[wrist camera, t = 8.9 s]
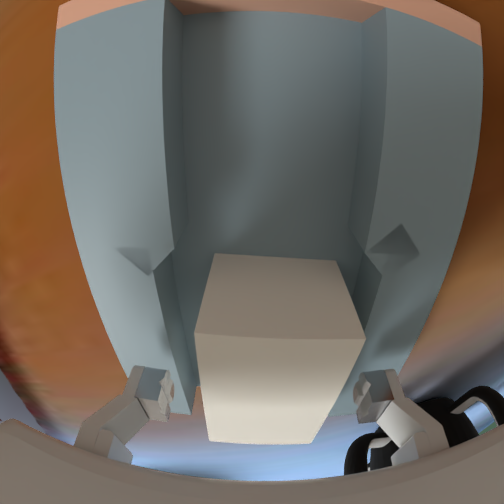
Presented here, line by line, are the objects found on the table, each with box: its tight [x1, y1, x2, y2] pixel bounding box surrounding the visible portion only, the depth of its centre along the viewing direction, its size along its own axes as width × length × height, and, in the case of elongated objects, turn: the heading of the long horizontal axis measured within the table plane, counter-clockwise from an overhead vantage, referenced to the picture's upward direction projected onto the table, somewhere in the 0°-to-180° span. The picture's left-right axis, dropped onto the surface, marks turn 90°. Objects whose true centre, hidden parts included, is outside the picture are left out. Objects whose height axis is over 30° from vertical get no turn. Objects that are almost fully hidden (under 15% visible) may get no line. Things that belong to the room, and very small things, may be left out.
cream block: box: [194, 253, 366, 444], centre depth 12 cm, size 5×8×4 cm, turn 177°
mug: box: [344, 386, 504, 475], centre depth 17 cm, size 16×16×12 cm
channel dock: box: [54, 0, 483, 417], centre depth 11 cm, size 14×20×3 cm
